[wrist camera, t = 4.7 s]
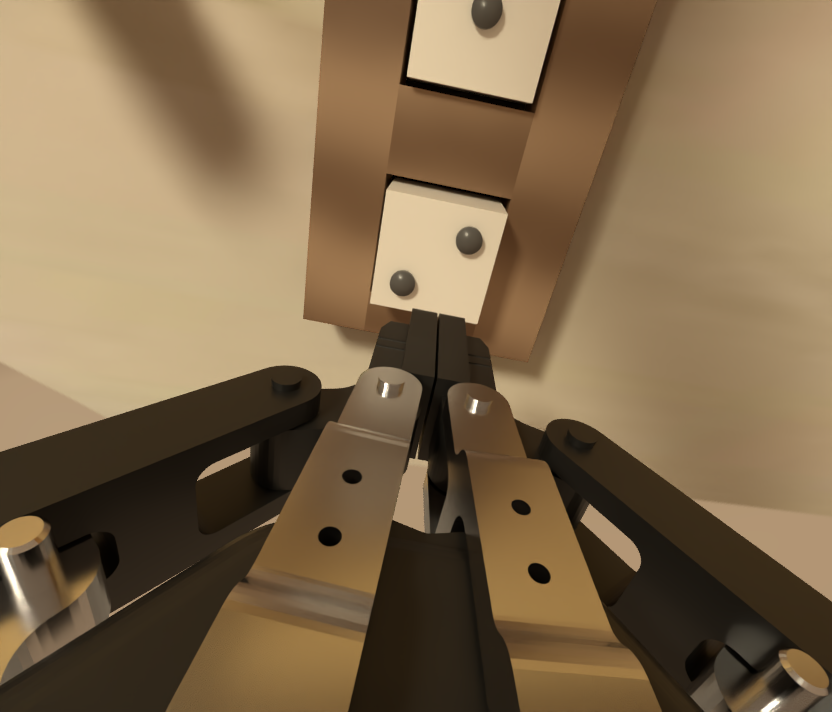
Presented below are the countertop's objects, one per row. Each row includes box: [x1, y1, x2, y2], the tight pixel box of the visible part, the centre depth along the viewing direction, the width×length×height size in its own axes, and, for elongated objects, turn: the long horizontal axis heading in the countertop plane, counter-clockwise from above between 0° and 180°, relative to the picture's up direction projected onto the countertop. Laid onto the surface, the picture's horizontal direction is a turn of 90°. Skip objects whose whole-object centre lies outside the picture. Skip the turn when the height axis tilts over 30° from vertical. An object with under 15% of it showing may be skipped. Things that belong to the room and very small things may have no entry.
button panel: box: [303, 0, 657, 362], centre depth 18 cm, size 28×12×3 cm, turn 169°
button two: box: [370, 178, 508, 324], centre depth 21 cm, size 5×5×4 cm
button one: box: [407, 0, 560, 104], centre depth 18 cm, size 5×5×4 cm
